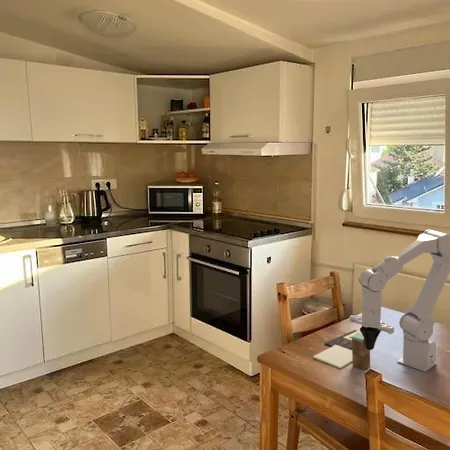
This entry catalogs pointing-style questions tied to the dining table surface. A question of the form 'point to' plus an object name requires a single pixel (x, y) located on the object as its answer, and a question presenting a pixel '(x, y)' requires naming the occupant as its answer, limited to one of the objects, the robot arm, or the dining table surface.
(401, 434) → the dining table surface
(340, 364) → the thin cream panel
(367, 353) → the walnut block
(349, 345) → the chocolate bar
